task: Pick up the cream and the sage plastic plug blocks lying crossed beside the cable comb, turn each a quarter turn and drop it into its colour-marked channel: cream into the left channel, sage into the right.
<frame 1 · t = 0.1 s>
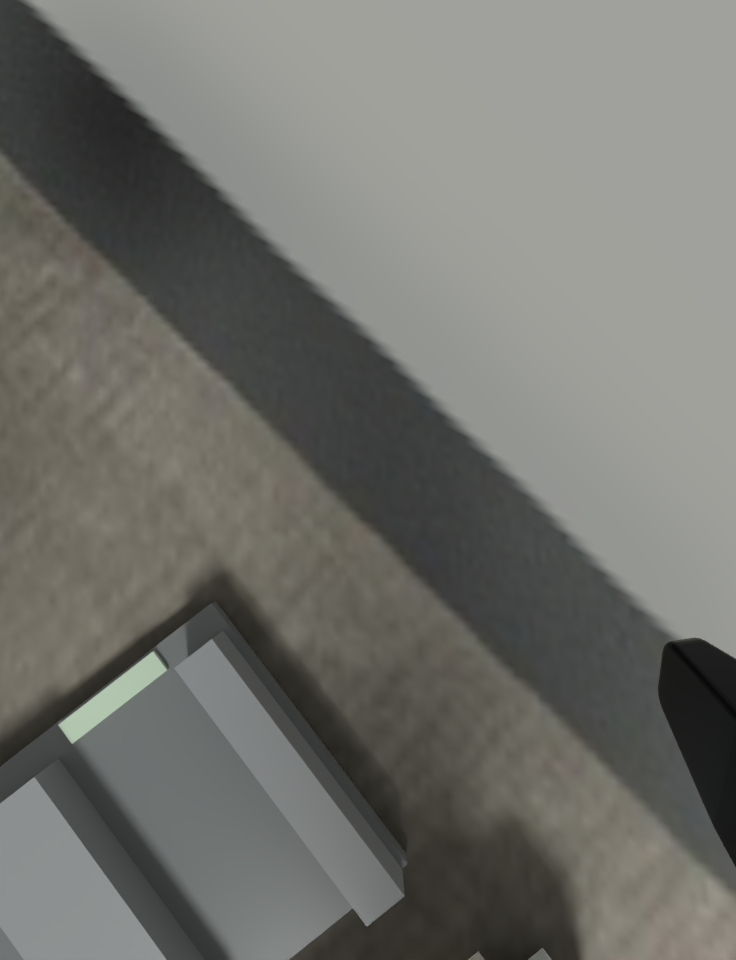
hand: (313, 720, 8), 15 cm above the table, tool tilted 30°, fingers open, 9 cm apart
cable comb: (102, 889, 22), on the table
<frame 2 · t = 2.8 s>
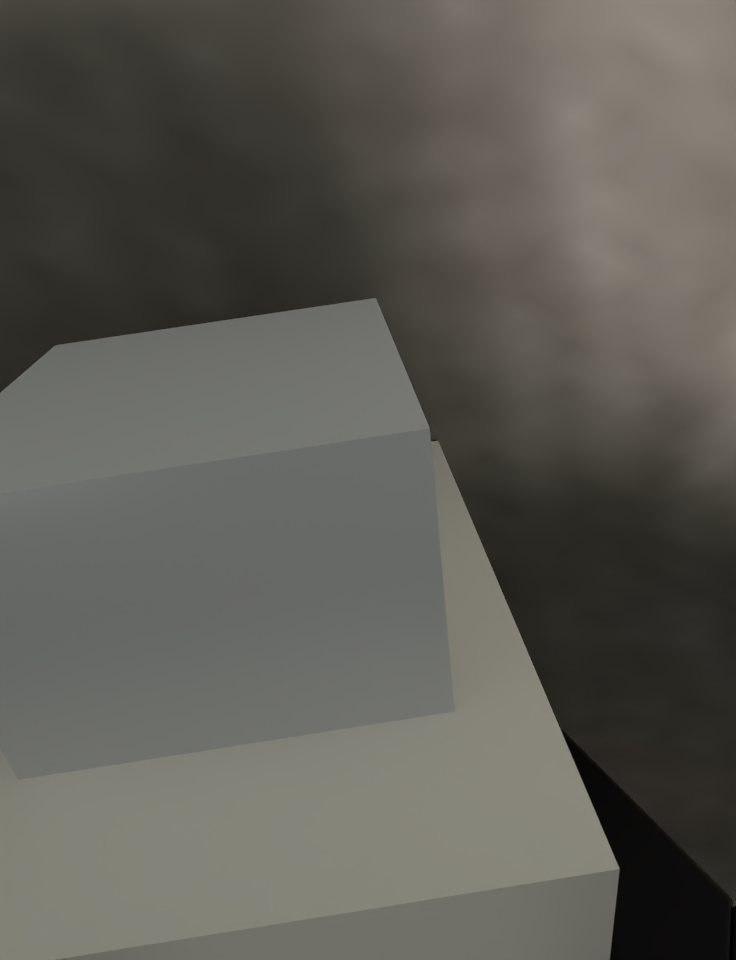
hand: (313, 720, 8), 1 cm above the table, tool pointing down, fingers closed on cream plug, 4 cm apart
cream plug: (311, 655, 9), on the table, touching gripper
when the fingers open (3 cm above the table, at t = 7.0 s): cream plug drops 2 cm, resting on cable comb.
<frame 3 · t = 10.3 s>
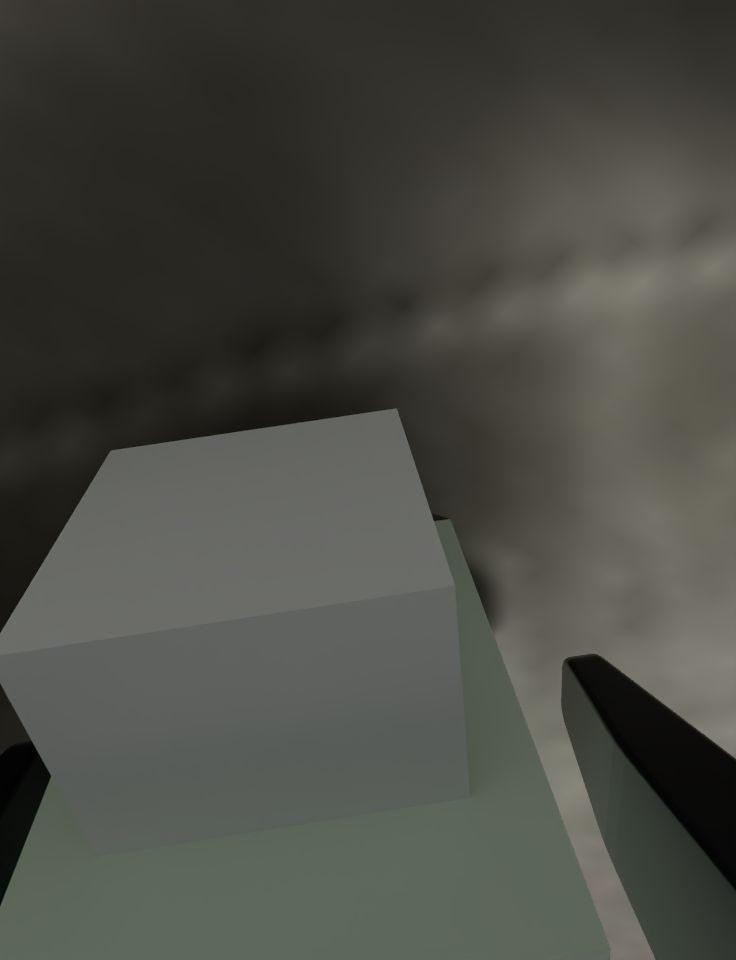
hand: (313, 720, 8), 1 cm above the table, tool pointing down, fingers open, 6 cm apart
sage plug: (328, 702, 10), on the table
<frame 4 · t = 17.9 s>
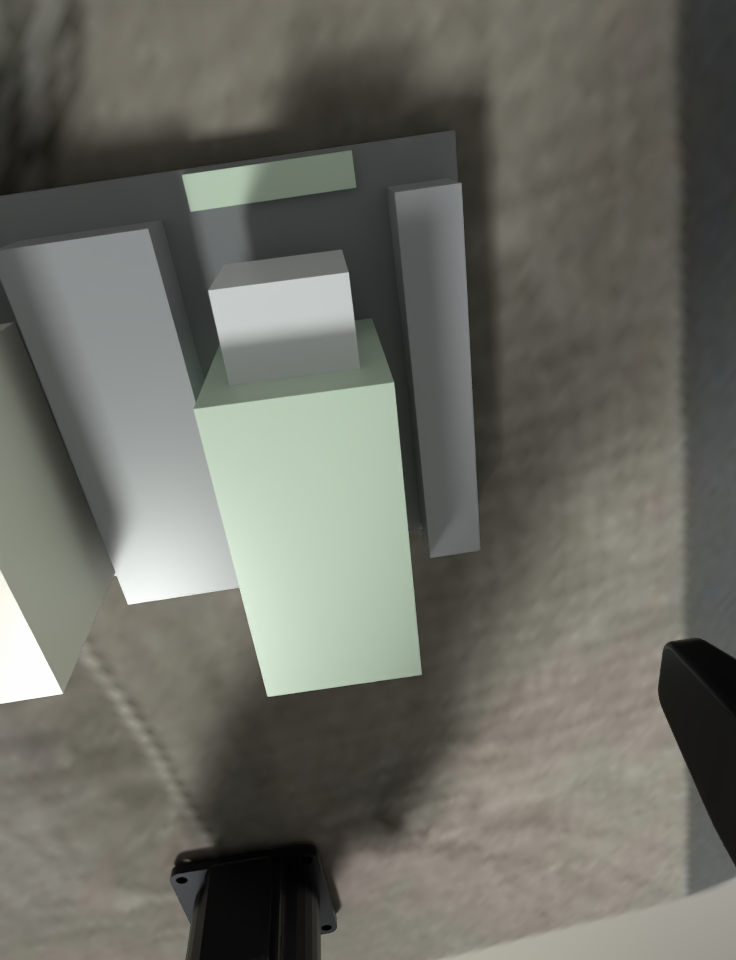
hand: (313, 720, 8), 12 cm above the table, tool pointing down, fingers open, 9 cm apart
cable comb: (149, 394, 18), on the table
sage plug: (313, 430, 19), point 1 cm above the table, touching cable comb
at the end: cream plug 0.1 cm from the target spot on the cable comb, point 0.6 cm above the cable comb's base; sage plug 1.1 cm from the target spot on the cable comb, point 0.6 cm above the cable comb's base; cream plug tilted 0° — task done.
